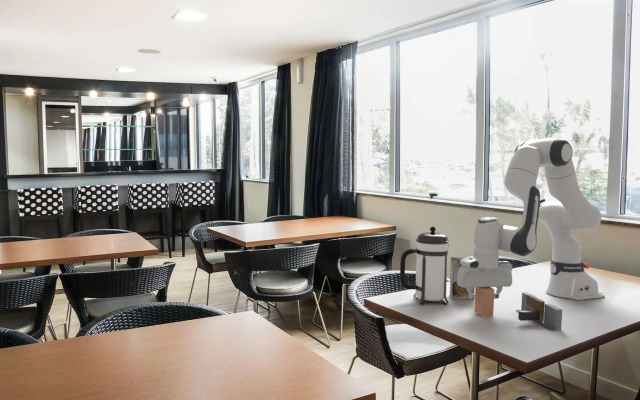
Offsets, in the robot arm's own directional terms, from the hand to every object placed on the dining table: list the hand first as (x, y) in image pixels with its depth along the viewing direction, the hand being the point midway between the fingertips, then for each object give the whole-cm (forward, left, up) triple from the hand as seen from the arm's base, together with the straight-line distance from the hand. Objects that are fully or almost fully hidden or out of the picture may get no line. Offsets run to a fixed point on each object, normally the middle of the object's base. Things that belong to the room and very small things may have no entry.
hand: (483, 298), depth 192 cm
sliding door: (-11, +9, -5) cm, 15 cm away
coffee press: (+15, -18, -6) cm, 24 cm away
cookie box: (-1, -22, -6) cm, 23 cm away
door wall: (-16, +9, -6) cm, 19 cm away
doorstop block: (0, 0, -6) cm, 6 cm away
